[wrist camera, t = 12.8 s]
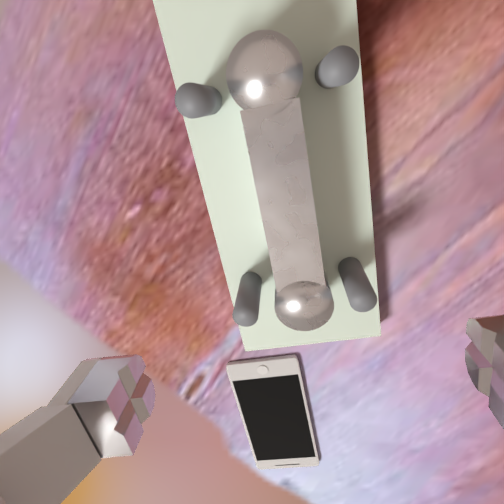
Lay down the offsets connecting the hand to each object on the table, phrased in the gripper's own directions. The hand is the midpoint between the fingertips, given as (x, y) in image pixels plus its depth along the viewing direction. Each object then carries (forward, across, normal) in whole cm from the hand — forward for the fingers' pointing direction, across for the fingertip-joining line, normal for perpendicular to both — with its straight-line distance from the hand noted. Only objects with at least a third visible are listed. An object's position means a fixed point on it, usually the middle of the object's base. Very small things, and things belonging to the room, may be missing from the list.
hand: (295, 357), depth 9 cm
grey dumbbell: (+18, 0, 0) cm, 18 cm away
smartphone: (+20, +5, +24) cm, 32 cm away
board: (+20, 0, 0) cm, 20 cm away
